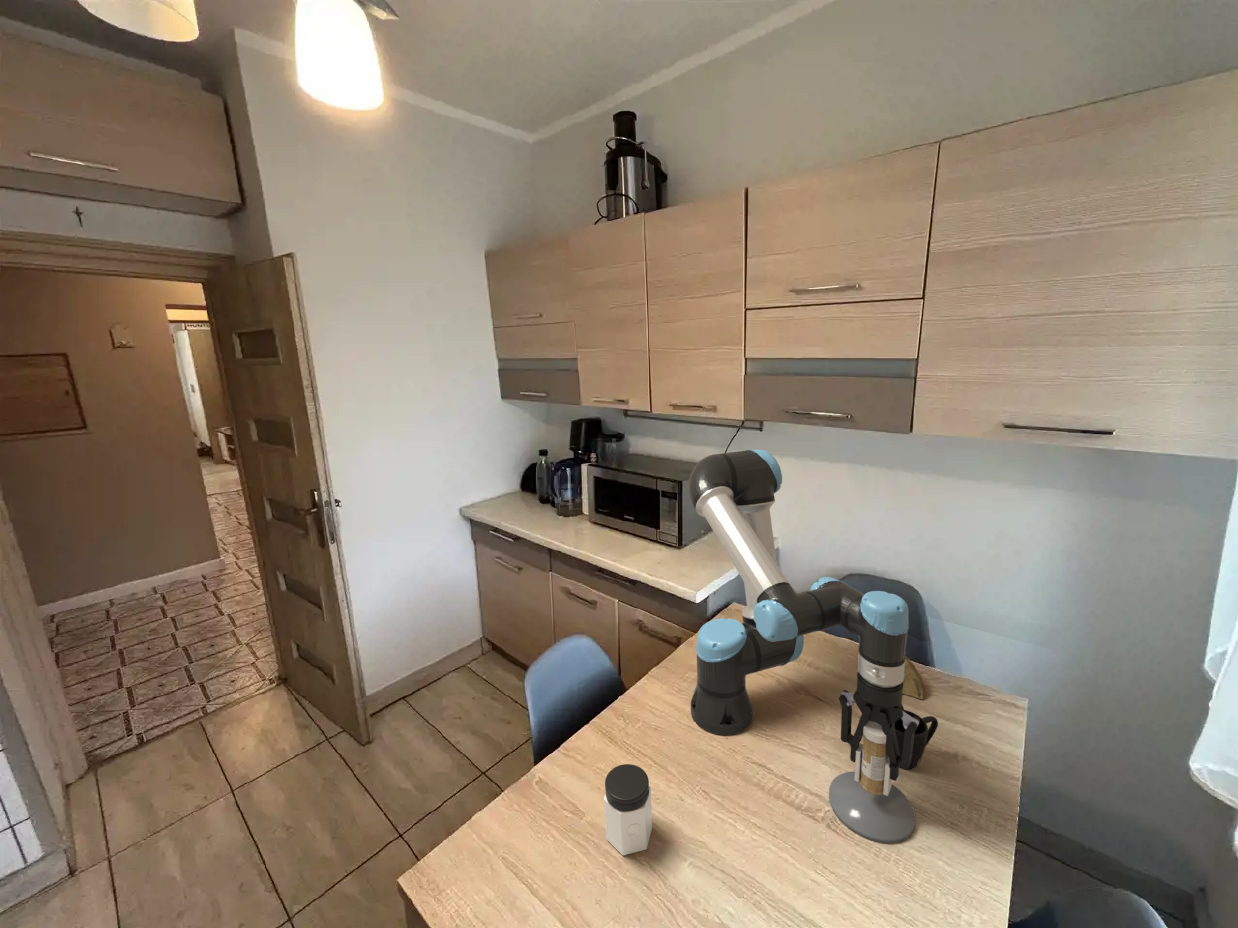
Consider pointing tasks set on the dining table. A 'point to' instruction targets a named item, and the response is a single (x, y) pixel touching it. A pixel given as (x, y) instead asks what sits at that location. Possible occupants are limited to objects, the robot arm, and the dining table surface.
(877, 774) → the sprinkles bottle
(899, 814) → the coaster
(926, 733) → the mug
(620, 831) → the jar
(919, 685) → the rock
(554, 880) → the dining table surface
